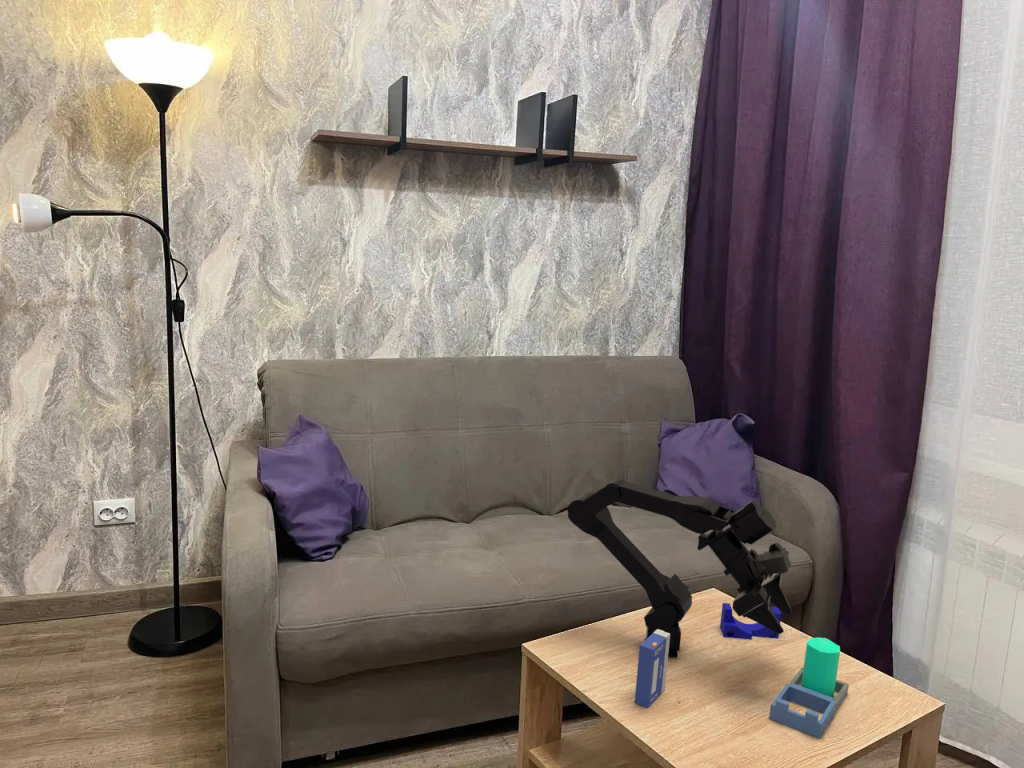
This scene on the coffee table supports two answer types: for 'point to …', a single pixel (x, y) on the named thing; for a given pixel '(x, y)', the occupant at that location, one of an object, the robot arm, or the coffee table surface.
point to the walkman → (652, 668)
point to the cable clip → (744, 625)
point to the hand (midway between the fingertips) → (786, 622)
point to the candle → (821, 666)
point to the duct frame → (810, 700)
